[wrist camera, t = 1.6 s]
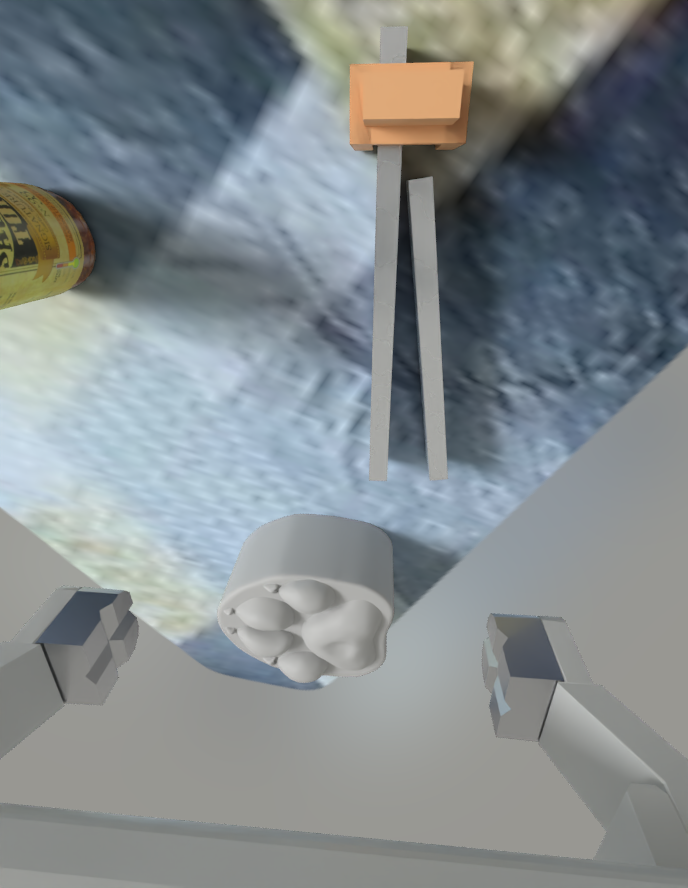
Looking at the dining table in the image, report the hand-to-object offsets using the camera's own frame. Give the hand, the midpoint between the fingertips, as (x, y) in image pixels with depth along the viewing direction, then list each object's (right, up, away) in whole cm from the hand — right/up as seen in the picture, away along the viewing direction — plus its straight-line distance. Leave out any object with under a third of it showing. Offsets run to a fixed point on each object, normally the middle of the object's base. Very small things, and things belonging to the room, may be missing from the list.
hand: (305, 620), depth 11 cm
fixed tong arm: (+3, +14, +19) cm, 24 cm away
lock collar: (+4, +22, +15) cm, 27 cm away
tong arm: (+6, +11, +20) cm, 24 cm away
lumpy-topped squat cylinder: (-2, -6, +31) cm, 31 cm away
